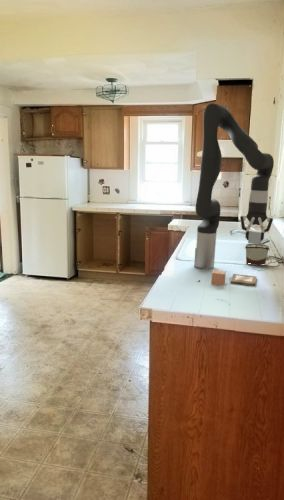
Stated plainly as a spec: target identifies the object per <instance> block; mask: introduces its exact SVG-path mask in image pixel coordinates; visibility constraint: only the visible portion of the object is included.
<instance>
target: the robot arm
mask: <svg viewBox="0 0 284 500" xmlns="http://www.w3.org/2000/svg"><path fill="white" fill-rule="evenodd" d="M202 115H203V116H202V133H203V134H202V147H201V148H202V149H201V150H202V151H201V160H200V171H199V172H200V173H199V182H198V183H199V185H198V191H197V197H196V200H195V213H196V215H197V217H198V218H200V219H202V222H201V223H200V224H199V225H197V229H196V246H195V250H194V262H193V265H194V267H195V268H198V269H203V270H204V269H205V270H206V269H207V270H209V269H213V268H215V261H216V260H215V258H216V244H217V232H218V231H217V230H218V228H219V226H220V225H219V224H220V219H221V203H220V202H219V201H218V200H217V199H215V198H212V193H213V189H214V186H215V184H216V182H217V180H218V178H219V176H220V174H221V168H222V159H223V155H222V150H221V146H220V144H219V139H218V138H219V137H218V132H219V131H218V130H219V128H220V129H222V130H223V131H225V132H226V133H227V134H228V136H229V138H230V140H231V142H232V144H233V145H234V147H235V148H236V149H237V150H238V151H239V152H240V153H241V154H242V155H243V156H244V158H245V160H246V161H247V163H248V165H249V166H250V167H251V168H252V169H254V170H256V175H255V176H253V177H252V178H251V185H250V192H249V196H248V197H249V199H248V207H247V208H248V209H247V214H246V215H241V216H240V223H241V224H240V226H241V229H242V230H243V231H245V239H246V240H247V241H248V238H249V230H251V227H252V226H255V225H256V226H259V227H260V231H261V240H260V242H262V241H263V240H264V239H265V233H266V232H268V233H269V232H270V229H271V227H272V225H273V224H272V223H273V221H274V218H273V217H270V216H268V215H267V209H268V208H267V207H268V201H269V184H270V182H269V181H270V178H271V175H272V173H273V170H274V169H273V168H274V167H275V166H274V157H273V155H272V154H270V153H268V152H262V151H261V150H260V149H259V146H258V144H257V142H256V141H255V140H254V139H253V138H252V137H251V136H250V135H249V134H248V133H247V132H246V131H245V130H244V129H243V128H242V127H241V125H240V124H239V123H238V122H237V120H236V119H235V118H234V116H233V115H232V113H231V111H230V110H229V109H228V107H226V106H225V105H223V104H218V103H208V104H207V105H206V107H205V108H204V110H203V114H202ZM246 219H247V221H248V225H247V227H246V226H245V221H246ZM266 220H267V221H266ZM265 221H266V222H267V225H266V228H264V223H265Z"/></svg>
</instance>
